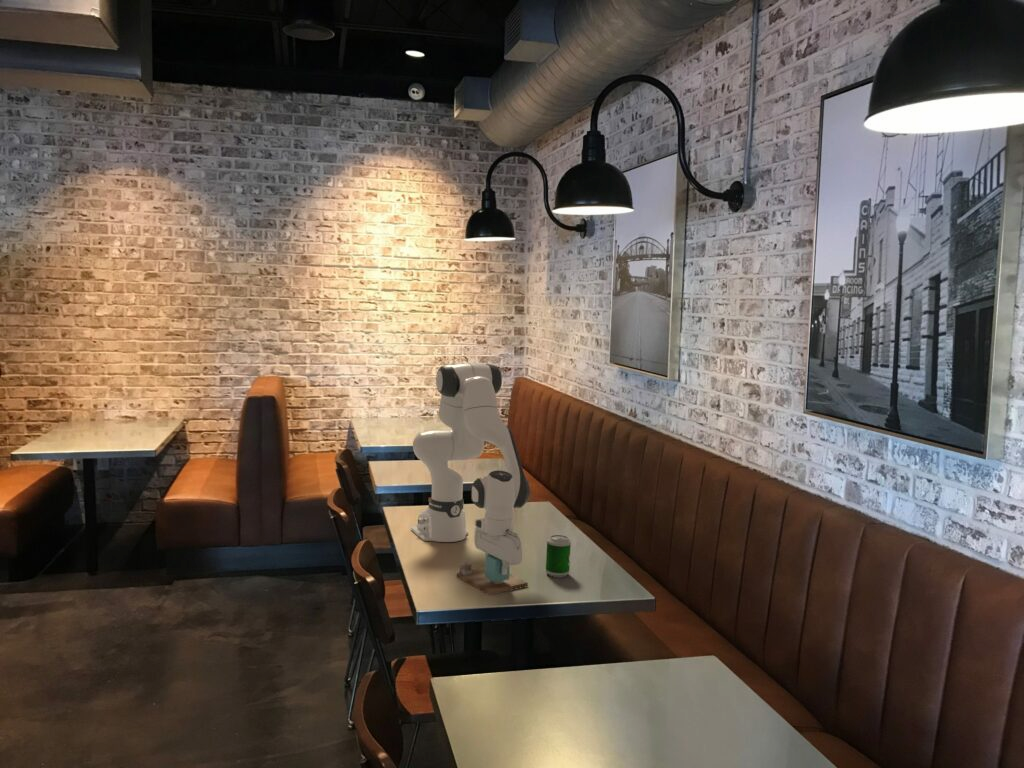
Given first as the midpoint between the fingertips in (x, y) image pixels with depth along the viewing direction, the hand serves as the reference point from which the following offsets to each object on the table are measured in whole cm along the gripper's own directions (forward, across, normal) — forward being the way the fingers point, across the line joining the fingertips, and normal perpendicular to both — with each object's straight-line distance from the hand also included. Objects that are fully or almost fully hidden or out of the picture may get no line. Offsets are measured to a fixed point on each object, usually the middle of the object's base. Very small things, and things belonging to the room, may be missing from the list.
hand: (497, 570), depth 243 cm
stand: (+5, +4, -1) cm, 6 cm away
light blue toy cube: (+2, 0, 0) cm, 2 cm away
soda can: (+5, -1, -23) cm, 24 cm away
